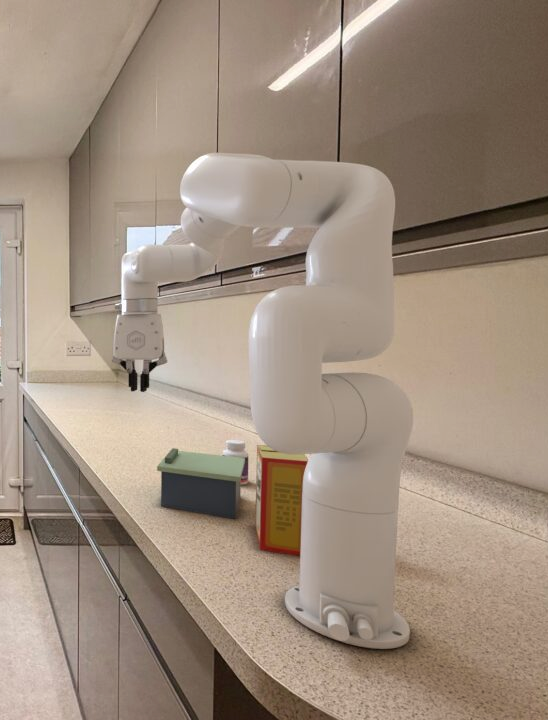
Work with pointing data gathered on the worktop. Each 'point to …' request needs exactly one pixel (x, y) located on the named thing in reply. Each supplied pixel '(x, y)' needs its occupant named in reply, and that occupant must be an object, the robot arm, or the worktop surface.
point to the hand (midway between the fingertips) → (138, 390)
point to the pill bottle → (237, 450)
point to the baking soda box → (279, 500)
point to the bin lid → (202, 465)
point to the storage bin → (200, 494)
